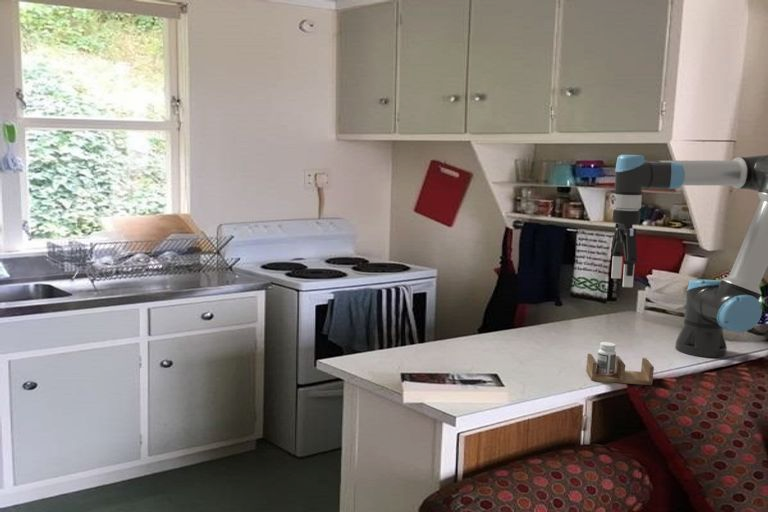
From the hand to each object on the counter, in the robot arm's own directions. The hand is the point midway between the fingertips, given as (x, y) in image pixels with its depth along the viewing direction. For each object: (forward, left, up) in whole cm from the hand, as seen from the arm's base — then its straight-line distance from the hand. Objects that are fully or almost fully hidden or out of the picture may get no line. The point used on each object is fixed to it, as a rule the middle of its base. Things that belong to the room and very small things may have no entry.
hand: (621, 282), depth 234 cm
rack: (+2, +16, -24) cm, 29 cm away
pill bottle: (+6, +16, -23) cm, 29 cm away
